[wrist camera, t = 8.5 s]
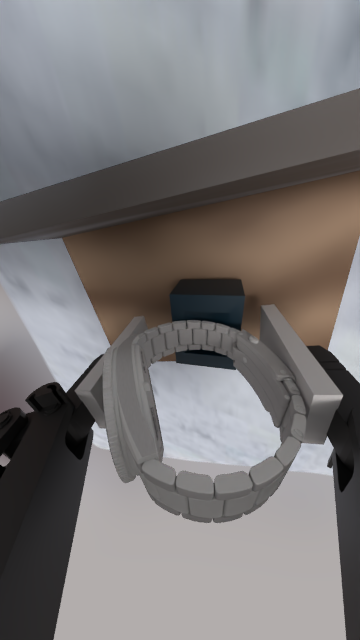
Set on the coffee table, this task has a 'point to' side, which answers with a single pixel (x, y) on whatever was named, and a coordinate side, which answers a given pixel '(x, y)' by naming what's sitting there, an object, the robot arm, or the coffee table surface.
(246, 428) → the coffee table surface
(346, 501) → the robot arm
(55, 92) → the coffee table surface
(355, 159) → the display stand
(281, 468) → the watch
